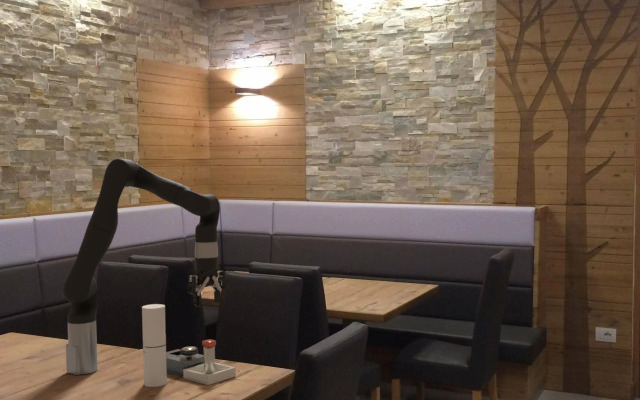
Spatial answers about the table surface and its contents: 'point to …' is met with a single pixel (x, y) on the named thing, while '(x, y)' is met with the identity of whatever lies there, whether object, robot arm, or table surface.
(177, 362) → the dark grey block
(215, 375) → the dish
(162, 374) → the cylindrical container
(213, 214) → the robot arm
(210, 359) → the pin
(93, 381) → the table surface
